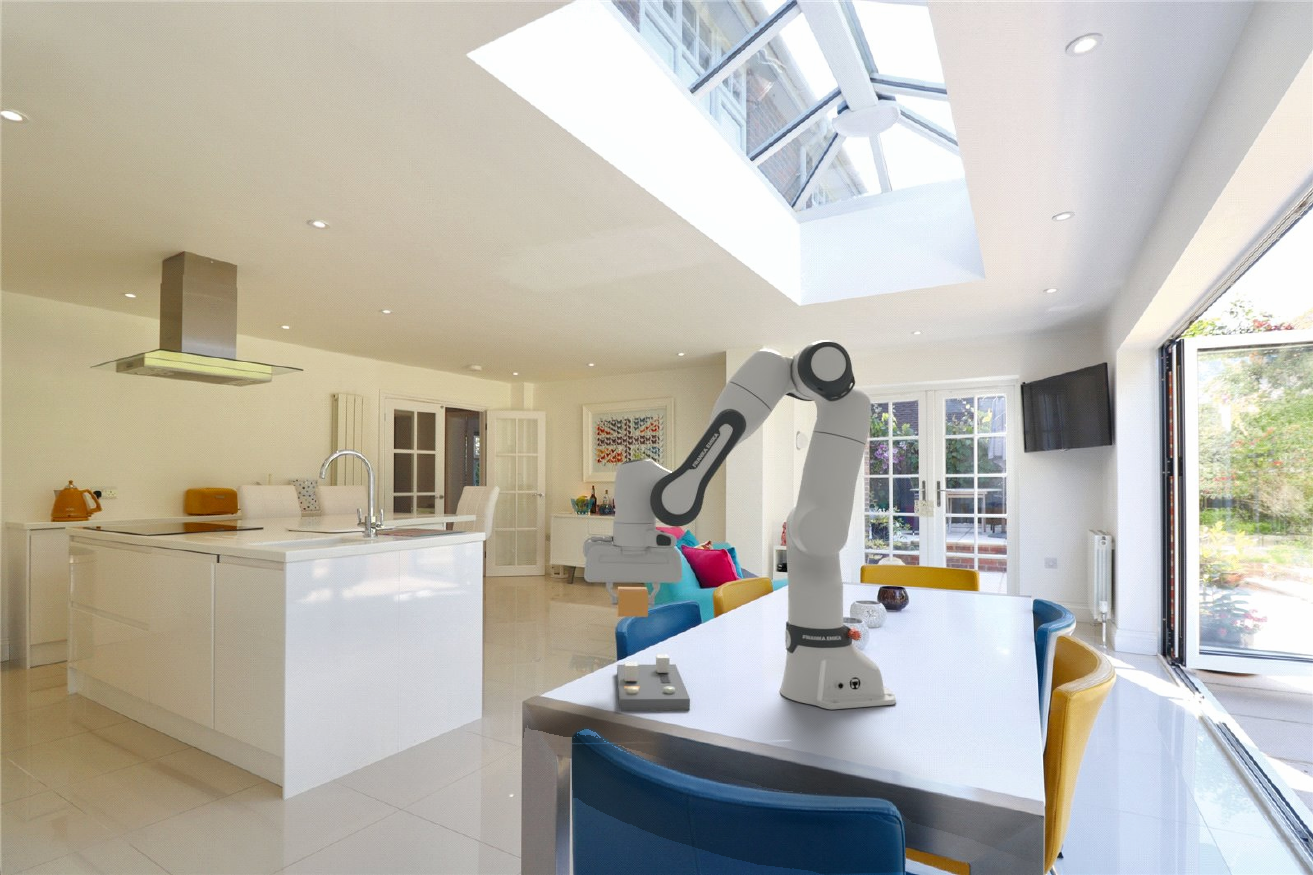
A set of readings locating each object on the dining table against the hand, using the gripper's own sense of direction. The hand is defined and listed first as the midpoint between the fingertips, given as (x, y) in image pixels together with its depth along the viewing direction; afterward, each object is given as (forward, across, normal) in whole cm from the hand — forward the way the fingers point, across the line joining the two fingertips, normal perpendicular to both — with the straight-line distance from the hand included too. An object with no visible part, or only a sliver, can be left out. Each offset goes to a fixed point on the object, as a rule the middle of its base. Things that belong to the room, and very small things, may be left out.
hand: (632, 604), depth 134 cm
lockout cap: (+2, 0, 0) cm, 2 cm away
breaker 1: (+15, 0, 0) cm, 15 cm away
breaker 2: (+15, +7, +6) cm, 17 cm away
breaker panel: (+17, +4, 0) cm, 18 cm away
